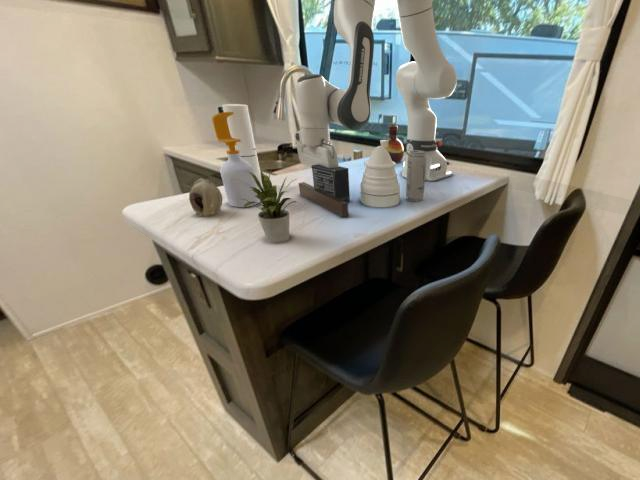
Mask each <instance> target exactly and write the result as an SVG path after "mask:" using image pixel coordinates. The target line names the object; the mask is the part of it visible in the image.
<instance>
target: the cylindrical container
mask: <svg viewBox="0 0 640 480" xmlns="http://www.w3.org/2000/svg"><path fill="white" fill-rule="evenodd" d="M221 107H222V112H233V114H232V115H230V116H228V117H227V123H228V127H229V131H230V135H231V137H232V138H234V139H240V140H241V141H240V142H236V145H235V149H236V150H239V153H240V157H241V159H242V160H243V161H245V162H247V163H249V164H250V165H252V167H253V169H254V172H255V176H256V177H257V179H258V180H259V182H260V184H261V186H262V188H263V185H262V181H261V167H260V163H259V158H258V153H257V147H256V142H255V137H254V132H253V127H252V122H251V117H250V112H249V107H248V105H247V104H241V103H225V104H221ZM257 187H258V185H257ZM263 189H264V188H263ZM258 190H260V188H259V187H258Z"/></svg>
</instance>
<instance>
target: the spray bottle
mask: <svg viewBox="0 0 640 480" xmlns="http://www.w3.org/2000/svg"><path fill="white" fill-rule="evenodd" d="M232 114H233V112H224V111H222V112H218V113H215V114H214V115H213V116H212V119H211V120H212V121H211V122H212V124H213V128H214V133H215V137H216V139H217V141H219V142H221V143H225V146H227V147H228V150H226V156H227V160H226V161H225V162H224V163H223V164H222V165H221V166H220V169H219V172H220V176H221V179H222V184H223V188H224V192H225V196H226V199H227V203H228V205H230V206H231V207H234V208H235V207H236V208H243V207H244V205H245V204H246V203H247V202H248V201H249V202H257V203H252V204H250V205H247V206H246V207H244V208H248V207H249V208H250V207H253V206H254V205H255V206H257V205H259V204H258V203H260V202H261V201H260V199H258V198H257V197H255V195H258V194H257V193H256V192H255V193H254V192H253V191H252V190H251V189H253V188H251V187H255V188H257V189H258V187H257V184H256V182H255V180H254V178H253V177H252V175H251V174H250V173H249V172H251V173H253V174H254V175H255V172H254V169H253V167H252V165H250V164H249V163H247V162H245V161H243V160H242V159H241V157H240V153H239V150H236V149H235V145H236V142H240V141H241V140H240V139H234V138H232V137H231V135H230V131H229V127H228V123H227V117H228V116H230V115H232ZM248 171H249V172H248ZM234 179H238V180H234ZM240 180H241V181H240ZM243 181H244V182H243ZM245 182H246V183H245ZM240 183H242V184H240ZM244 184H245V185H244ZM248 184H249V185H248ZM246 185H247V186H246ZM246 187H247V188H246ZM250 188H251V189H250ZM243 199H245V200H243ZM246 200H248V201H246ZM253 204H254V205H253ZM255 206H254V207H255Z"/></svg>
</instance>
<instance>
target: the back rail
mask: <svg viewBox="0 0 640 480" xmlns="http://www.w3.org/2000/svg"><path fill="white" fill-rule="evenodd" d="M298 189H299V196H301V197H303V198H304V199H307V200H308V201H310V202H312V203H314V204H316V205H318V206H320V207H322V208H324V209H325V210H327V211H329V212H331V213H333V214H335V215H337V216H338V217H341V218H347V217H349V202H345V201H343V200H341V199H338V198H336V197H334V196H332V195H330V194H328V193H326V192H324V191H322V190H319V189H317V188H315V187H314V185H311V184H309V183H307V182H304V181H303V182H298Z"/></svg>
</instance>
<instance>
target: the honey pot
mask: <svg viewBox="0 0 640 480" xmlns="http://www.w3.org/2000/svg"><path fill="white" fill-rule="evenodd" d="M379 142H380V145H378V146H376V147H375V148H374V149H373V150H372V152H371V153H370V156H369V158H368V159H367V160H366V161H364V162H363V165H364V167H365V169H364V172H363V174H362V178H361V182H360V185H359V189H360V190H359V191H360V192H359V193H360V203H361V204H363V205H365V206H368V207H372V208H390V207H394V206H397V205H398V204H400V198H401V194H400V193H401V192H400V190H401V185H400V183H399V178H398V173H397V172H396V167H397V162H396V163H395V162H393V161H392V159H391V157H390V155H389V153H388V151H387V150H386V149H385V147H386V146H387V145H388V140H386V139H380V140H379Z"/></svg>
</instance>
